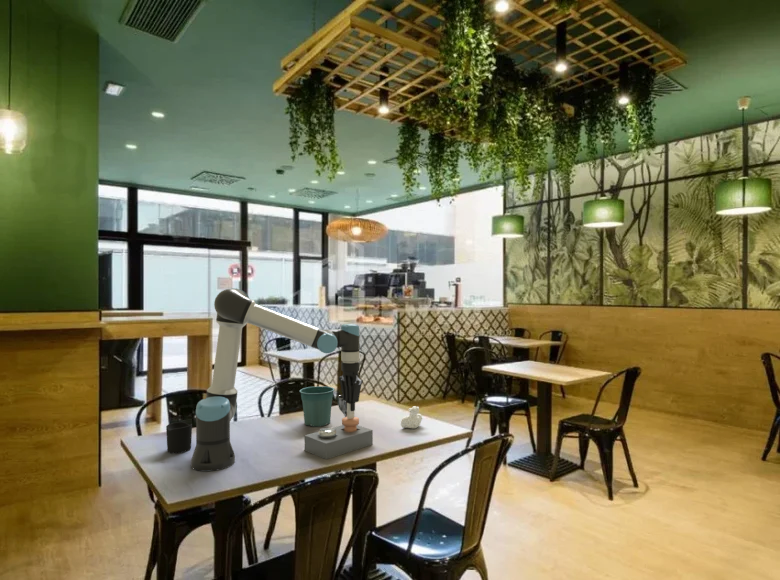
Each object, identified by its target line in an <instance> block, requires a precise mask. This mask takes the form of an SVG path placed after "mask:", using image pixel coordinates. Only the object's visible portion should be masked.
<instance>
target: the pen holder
mask: <svg viewBox="0 0 780 580" xmlns="http://www.w3.org/2000/svg"><path fill="white" fill-rule="evenodd" d="M165 428H166V431H165V432H166V448H167V452H168V453H169V452H170V454H180V453H181V452H182V453H185V452H188V451H190V450H191V448H192V435H193V431H192V429H193V423H187V422H185V421H175V422H172V423H168V424H166V427H165Z"/></svg>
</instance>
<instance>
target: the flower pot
mask: <svg viewBox="0 0 780 580" xmlns="http://www.w3.org/2000/svg"><path fill="white" fill-rule="evenodd" d="M334 391H335V388H334V387H332V386H325V385H324V386H322V385H321V386H320V385H317V386H308V387H303V388H301V389H300V390H299V393H300V398H301V401H302V411H303V421H304V425H306V426H309V427H310V426H311V427H318V428H319V427H324V426H327V425H329V424H330V423H331V418H332V417H331V415H332V401H333V397H334Z"/></svg>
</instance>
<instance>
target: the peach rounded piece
mask: <svg viewBox="0 0 780 580" xmlns="http://www.w3.org/2000/svg"><path fill="white" fill-rule="evenodd" d="M359 424H360V418H359V417H357V416H354V418H353V419H347V417H345V416H344V417H343V418H341V425H344V431H346V432H349V433H350V432H353V431H357V425H358V426H359Z"/></svg>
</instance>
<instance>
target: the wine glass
mask: <svg viewBox="0 0 780 580" xmlns="http://www.w3.org/2000/svg"><path fill="white" fill-rule="evenodd" d="M337 406H338V408H339V410H340V412H341V413H342V414H343V416H344V417H347V409H346V401H345V400H343V397H342V394H339V395H337Z"/></svg>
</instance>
